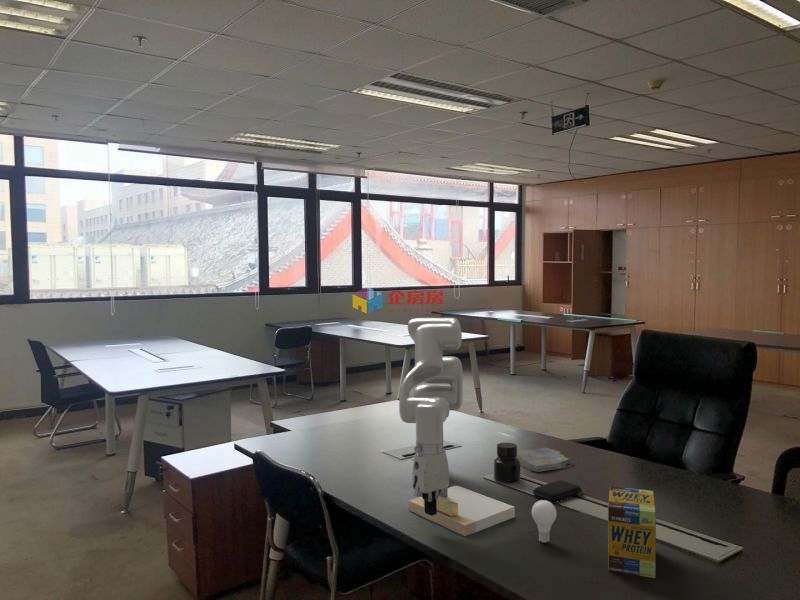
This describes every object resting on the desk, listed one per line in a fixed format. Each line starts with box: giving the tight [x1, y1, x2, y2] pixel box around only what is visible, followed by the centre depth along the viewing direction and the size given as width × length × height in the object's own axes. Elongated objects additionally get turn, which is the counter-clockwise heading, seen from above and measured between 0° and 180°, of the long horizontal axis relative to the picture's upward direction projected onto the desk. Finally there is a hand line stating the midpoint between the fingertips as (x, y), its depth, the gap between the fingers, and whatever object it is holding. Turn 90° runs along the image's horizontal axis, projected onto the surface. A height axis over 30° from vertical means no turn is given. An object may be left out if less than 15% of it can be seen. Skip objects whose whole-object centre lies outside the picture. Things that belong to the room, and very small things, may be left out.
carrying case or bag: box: [532, 480, 583, 503], centre depth 190 cm, size 11×3×15 cm
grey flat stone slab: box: [516, 447, 573, 473], centre depth 223 cm, size 20×5×17 cm
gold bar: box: [423, 496, 458, 516], centre depth 171 cm, size 13×3×3 cm, turn 39°
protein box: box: [607, 485, 657, 579], centre depth 145 cm, size 10×15×16 cm
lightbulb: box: [531, 499, 558, 544], centre depth 156 cm, size 6×6×11 cm
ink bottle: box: [493, 442, 521, 484], centre depth 205 cm, size 10×9×12 cm
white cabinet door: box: [407, 484, 516, 537], centre depth 176 cm, size 24×20×6 cm
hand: (430, 513), depth 165 cm, fingers closed
